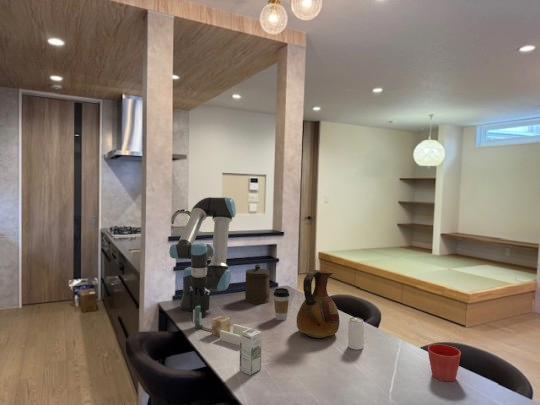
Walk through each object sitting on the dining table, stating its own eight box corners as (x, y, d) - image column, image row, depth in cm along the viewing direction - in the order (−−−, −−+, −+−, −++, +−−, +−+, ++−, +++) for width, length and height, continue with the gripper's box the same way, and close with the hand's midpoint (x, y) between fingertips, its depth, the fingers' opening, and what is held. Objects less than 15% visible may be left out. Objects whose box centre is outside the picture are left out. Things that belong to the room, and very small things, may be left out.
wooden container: (265, 296, 231) (265, 261, 231) (272, 302, 217) (272, 266, 216) (242, 298, 227) (242, 263, 226) (248, 305, 212) (248, 267, 212)
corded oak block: (191, 328, 174) (191, 307, 174) (200, 324, 180) (200, 304, 179) (221, 337, 164) (222, 315, 164) (230, 332, 169) (230, 311, 169)
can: (364, 345, 157) (364, 317, 157) (363, 351, 151) (363, 322, 151) (349, 343, 159) (349, 316, 159) (347, 349, 153) (347, 320, 153)
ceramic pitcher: (347, 333, 170) (348, 270, 169) (322, 346, 155) (323, 277, 155) (313, 323, 184) (314, 264, 183) (287, 334, 169) (288, 270, 168)
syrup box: (249, 365, 138) (250, 327, 138) (261, 370, 134) (261, 331, 134) (239, 370, 134) (239, 331, 133) (251, 376, 130) (251, 336, 129)
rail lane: (219, 339, 162) (219, 330, 162) (234, 332, 170) (234, 323, 170) (244, 347, 154) (244, 337, 154) (258, 339, 163) (258, 330, 163)
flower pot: (421, 369, 136) (422, 344, 135) (449, 368, 137) (450, 343, 136) (436, 384, 125) (437, 356, 125) (467, 383, 126) (467, 355, 126)
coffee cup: (289, 316, 194) (289, 288, 193) (288, 321, 185) (289, 292, 185) (274, 315, 195) (274, 287, 194) (272, 320, 186) (272, 291, 186)
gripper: (181, 274, 177) (181, 322, 177) (206, 279, 168) (206, 329, 168) (192, 272, 183) (192, 317, 184) (217, 276, 174) (217, 324, 175)
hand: (198, 323), depth 176 cm, fingers closed on corded oak block, 4 cm apart
